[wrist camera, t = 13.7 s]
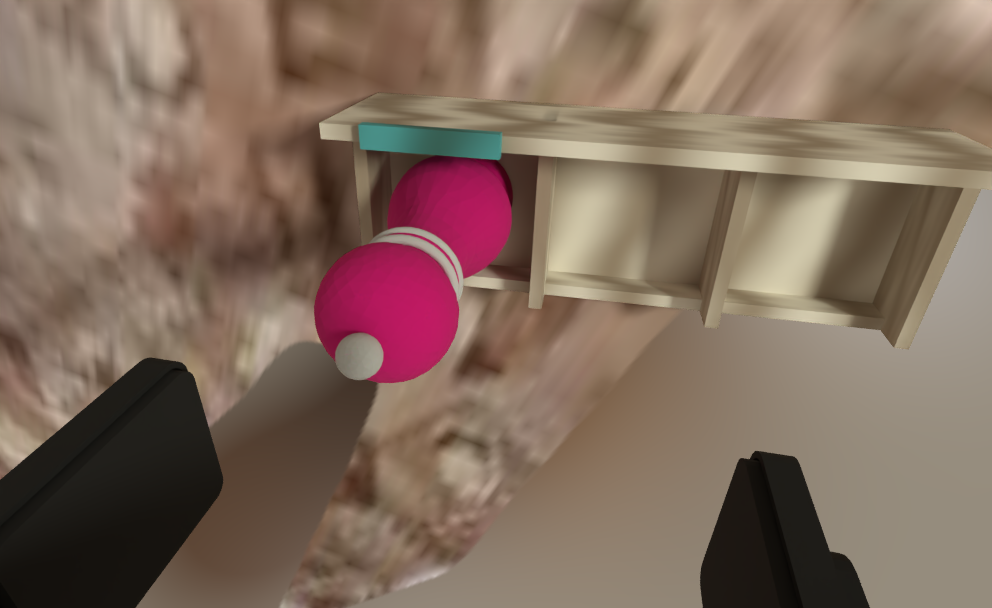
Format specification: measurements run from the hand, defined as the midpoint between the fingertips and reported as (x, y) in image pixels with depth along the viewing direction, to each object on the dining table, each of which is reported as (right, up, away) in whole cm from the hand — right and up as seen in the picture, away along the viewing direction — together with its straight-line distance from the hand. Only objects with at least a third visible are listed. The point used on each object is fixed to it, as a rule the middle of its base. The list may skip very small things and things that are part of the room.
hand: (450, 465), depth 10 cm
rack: (+10, +9, +28) cm, 31 cm away
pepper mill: (-1, +10, +29) cm, 30 cm away
